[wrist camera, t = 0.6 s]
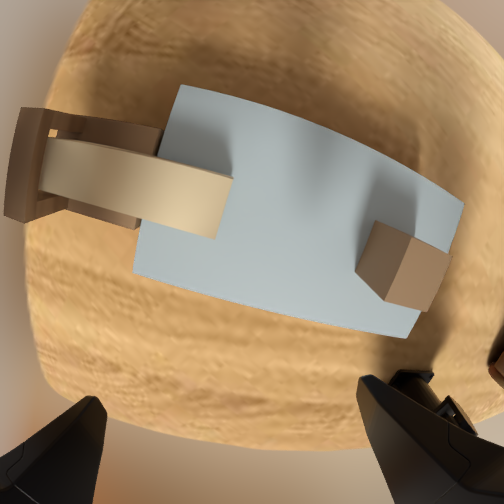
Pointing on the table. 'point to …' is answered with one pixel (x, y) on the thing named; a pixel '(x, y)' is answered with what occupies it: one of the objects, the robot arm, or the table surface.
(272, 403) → the table surface
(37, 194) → the brown wooden open box
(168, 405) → the table surface
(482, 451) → the robot arm
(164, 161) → the sliding latch bolt
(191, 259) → the lid
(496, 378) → the brown backpack
